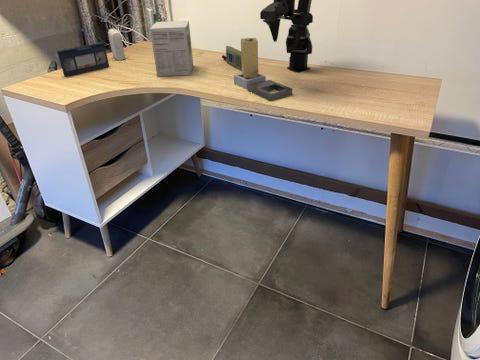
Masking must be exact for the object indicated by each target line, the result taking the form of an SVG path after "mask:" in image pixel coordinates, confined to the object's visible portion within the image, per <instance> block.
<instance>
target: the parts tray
mask: <svg viewBox="0 0 480 360" xmlns="http://www.w3.org/2000/svg"><path fill="white" fill-rule="evenodd" d="M266 79H267V78H266V75H264V74H261V73H259V72H258V77H256V78H243V75H242V73H239V74H234V75H233V83H235V84H234V85H236V84H237V85H236V86H238V85H239V86H238V87H240V86H241V87H240V88H242V87H243V88H242V89H245V90H248V85H251V84H255V83H259V82H263V81H266Z"/></svg>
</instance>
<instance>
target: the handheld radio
mask: <svg viewBox="0 0 480 360" xmlns="http://www.w3.org/2000/svg"><path fill="white" fill-rule="evenodd" d="M221 58H222V59H224V60H225V62H227V64H228V63H229V64H228V65H230V66H232V67H233V66H234V67H233V68H235V67H236V68H235V69H237V70H239V71H240V70H241V71H240V72H242V61H241V50H240V49H239V50H238V49H237V48H234V47H233V46H231V45H226V46H225V55H224V54H223V55H221Z"/></svg>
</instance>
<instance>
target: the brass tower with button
mask: <svg viewBox="0 0 480 360" xmlns="http://www.w3.org/2000/svg"><path fill="white" fill-rule="evenodd" d="M240 51H241V61H242V71H241V74H242V75H243V78H256V77H258V73H259V41H258V39H257V38H256V37H246V38H240Z"/></svg>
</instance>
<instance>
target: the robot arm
mask: <svg viewBox="0 0 480 360" xmlns="http://www.w3.org/2000/svg"><path fill="white" fill-rule="evenodd" d="M312 1H313V0H298V3H297V8H296V0H273V2H272V3H270V4H268V5H267V6H266V7H264V8H263V9H262V10H261V11H260V14H259V16H260V17H259V18H260V19H261V20H262V22H263V23H265V24H266V25H267V27H268V28H269V30H270V31H269V32H270V34H271V37H272V40H273V42H274V43H276V42H277V41H278V38H279V32H280V26H281V20H282V19H283V20H288V21H290V22H291V23H292V24H290V27H289V28H288V34H287V37H286V39H285V48H286V49H285V50H286V54H289V56H290V57H289V63H288V64H289V65H288V66H287V68H286V69H288V70H291V71H294V72H297V73H300V72H304V71H306V70H310V69H311V67H310V66H308V60H309V59H308V58H309V55H312V54H313V44H312V39H311V38H310V37H311V32H310V30H309V27H308V26H310V24H312V23H313V21H314V20H313V19H314V16H313V14H312V13H311V8H312V7H311V5H312Z"/></svg>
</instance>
